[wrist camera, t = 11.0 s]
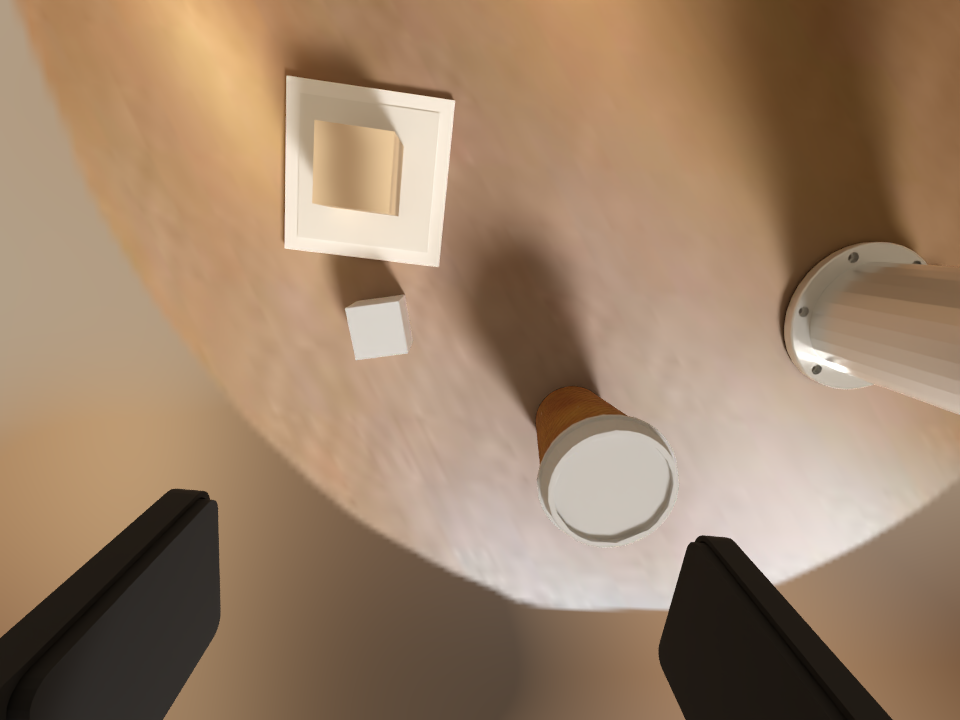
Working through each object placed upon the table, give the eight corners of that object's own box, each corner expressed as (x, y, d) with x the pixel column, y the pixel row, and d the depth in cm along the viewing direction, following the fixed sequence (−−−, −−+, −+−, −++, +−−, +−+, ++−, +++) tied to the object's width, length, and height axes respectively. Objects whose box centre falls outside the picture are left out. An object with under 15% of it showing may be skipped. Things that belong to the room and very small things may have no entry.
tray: (455, 102, 34) (455, 100, 33) (439, 266, 37) (438, 267, 36) (289, 78, 33) (286, 75, 32) (287, 248, 36) (284, 248, 35)
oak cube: (403, 146, 34) (394, 131, 29) (398, 216, 35) (388, 213, 30) (335, 136, 33) (314, 119, 29) (332, 207, 35) (312, 203, 30)
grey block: (405, 294, 37) (398, 301, 34) (413, 341, 39) (408, 353, 35) (356, 300, 37) (344, 308, 34) (366, 347, 39) (355, 360, 35)
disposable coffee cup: (511, 463, 42) (531, 550, 30) (524, 363, 39) (551, 417, 28) (612, 470, 43) (669, 558, 31) (631, 372, 40) (701, 428, 28)
